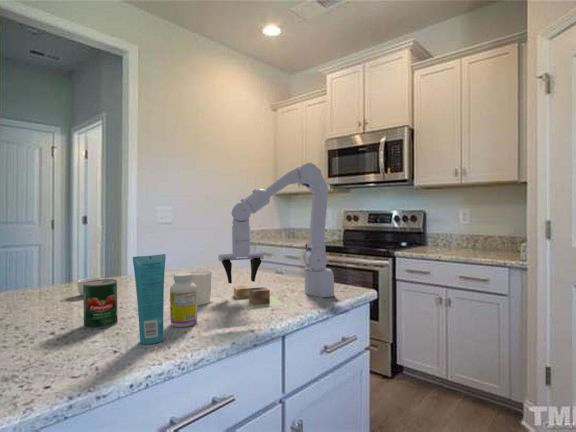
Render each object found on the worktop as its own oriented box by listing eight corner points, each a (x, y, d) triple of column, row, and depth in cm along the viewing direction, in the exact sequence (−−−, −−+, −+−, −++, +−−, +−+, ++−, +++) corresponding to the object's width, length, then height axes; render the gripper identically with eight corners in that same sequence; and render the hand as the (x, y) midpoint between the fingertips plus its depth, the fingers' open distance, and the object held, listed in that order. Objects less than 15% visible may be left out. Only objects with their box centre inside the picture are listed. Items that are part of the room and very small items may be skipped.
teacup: (91, 298, 125) (91, 282, 125) (72, 297, 127) (71, 281, 127) (111, 291, 135) (111, 277, 135) (93, 291, 137) (93, 276, 137)
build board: (272, 299, 121) (272, 296, 121) (284, 308, 109) (284, 304, 109) (235, 302, 116) (235, 299, 116) (244, 312, 105) (244, 309, 105)
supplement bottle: (175, 320, 99) (174, 271, 99) (200, 320, 99) (199, 271, 98) (166, 328, 92) (165, 276, 92) (193, 328, 92) (192, 276, 92)
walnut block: (264, 299, 116) (264, 286, 116) (269, 303, 111) (269, 290, 111) (249, 301, 114) (249, 288, 114) (253, 305, 110) (253, 291, 110)
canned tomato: (94, 331, 90) (94, 286, 90) (77, 326, 95) (76, 283, 94) (124, 322, 97) (123, 280, 97) (106, 318, 101) (105, 278, 101)
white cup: (205, 309, 110) (205, 275, 110) (181, 307, 111) (180, 274, 111) (216, 302, 117) (215, 270, 117) (192, 301, 119) (192, 270, 119)
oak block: (247, 297, 124) (246, 285, 124) (250, 300, 120) (250, 288, 120) (233, 298, 123) (233, 286, 122) (236, 301, 118) (236, 289, 118)
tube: (160, 334, 88) (159, 252, 87) (172, 338, 84) (170, 254, 84) (130, 343, 82) (128, 256, 82) (141, 348, 79) (139, 257, 78)
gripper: (259, 238, 127) (259, 278, 127) (216, 240, 122) (217, 281, 122) (265, 240, 121) (265, 282, 121) (220, 241, 115) (221, 285, 116)
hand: (241, 282), depth 121 cm, fingers open, 7 cm apart
